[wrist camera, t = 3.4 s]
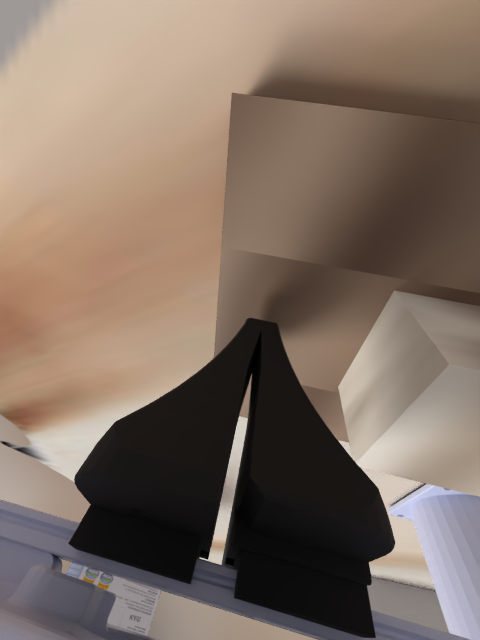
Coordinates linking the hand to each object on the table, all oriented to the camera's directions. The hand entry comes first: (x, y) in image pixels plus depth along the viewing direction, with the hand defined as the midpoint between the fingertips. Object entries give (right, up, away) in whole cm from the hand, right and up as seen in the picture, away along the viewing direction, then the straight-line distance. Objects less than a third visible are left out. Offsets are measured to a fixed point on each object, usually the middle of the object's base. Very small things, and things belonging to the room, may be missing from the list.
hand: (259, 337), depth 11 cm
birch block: (+8, -1, 0) cm, 8 cm away
